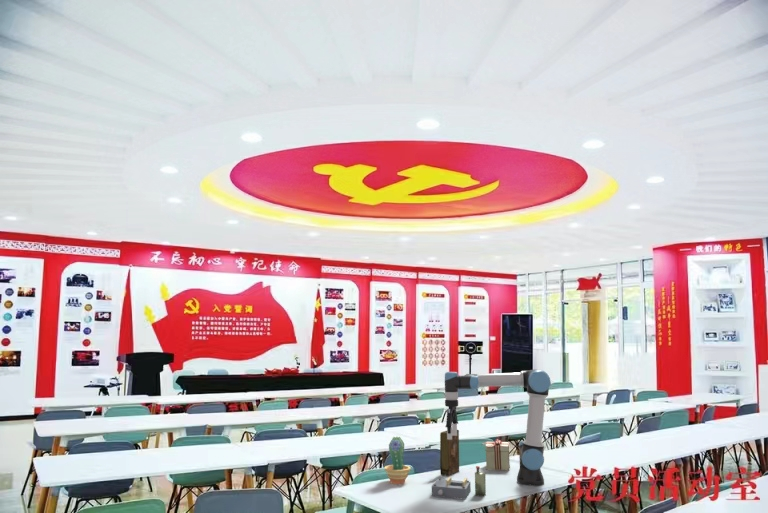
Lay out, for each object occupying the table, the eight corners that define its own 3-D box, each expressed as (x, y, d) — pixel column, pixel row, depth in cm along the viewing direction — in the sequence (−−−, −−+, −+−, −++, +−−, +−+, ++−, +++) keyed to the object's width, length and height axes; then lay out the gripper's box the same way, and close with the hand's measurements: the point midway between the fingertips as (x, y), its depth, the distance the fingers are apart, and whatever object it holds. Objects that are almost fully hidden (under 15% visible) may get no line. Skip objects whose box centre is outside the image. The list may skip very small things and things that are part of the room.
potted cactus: (378, 481, 326) (378, 436, 329) (396, 477, 337) (396, 433, 340) (398, 486, 315) (398, 440, 319) (416, 481, 326) (416, 436, 330)
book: (452, 470, 356) (451, 429, 360) (460, 471, 353) (459, 429, 357) (440, 475, 342) (440, 432, 346) (448, 476, 340) (448, 433, 343)
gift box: (480, 464, 373) (480, 437, 375) (509, 465, 370) (508, 438, 373) (481, 470, 356) (481, 442, 359) (511, 471, 354) (511, 443, 356)
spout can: (486, 493, 302) (485, 466, 304) (485, 496, 297) (484, 468, 299) (476, 492, 304) (475, 465, 306) (474, 495, 298) (474, 467, 301)
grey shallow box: (470, 491, 307) (470, 476, 308) (465, 500, 289) (464, 485, 290) (437, 488, 312) (437, 474, 313) (430, 497, 295) (430, 482, 296)
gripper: (449, 397, 340) (450, 433, 337) (440, 401, 316) (440, 440, 313) (462, 397, 337) (462, 434, 334) (453, 401, 314) (454, 441, 311)
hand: (452, 437), depth 324 cm, fingers open, 13 cm apart
